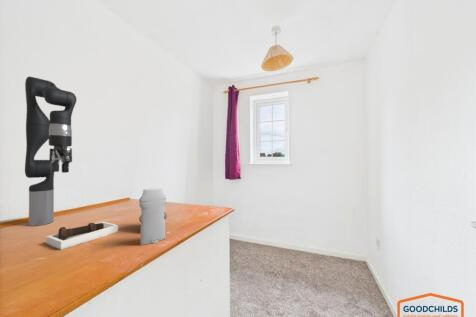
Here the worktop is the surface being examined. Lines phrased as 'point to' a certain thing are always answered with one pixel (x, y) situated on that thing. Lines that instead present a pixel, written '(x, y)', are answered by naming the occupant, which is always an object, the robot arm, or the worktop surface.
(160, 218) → the tall pale column
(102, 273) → the worktop surface
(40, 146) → the robot arm
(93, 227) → the bolt
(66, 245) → the parts tray
